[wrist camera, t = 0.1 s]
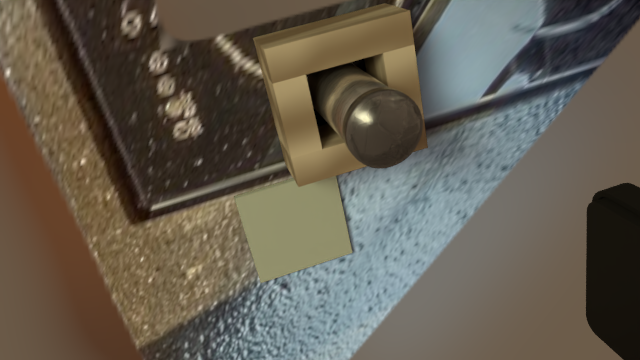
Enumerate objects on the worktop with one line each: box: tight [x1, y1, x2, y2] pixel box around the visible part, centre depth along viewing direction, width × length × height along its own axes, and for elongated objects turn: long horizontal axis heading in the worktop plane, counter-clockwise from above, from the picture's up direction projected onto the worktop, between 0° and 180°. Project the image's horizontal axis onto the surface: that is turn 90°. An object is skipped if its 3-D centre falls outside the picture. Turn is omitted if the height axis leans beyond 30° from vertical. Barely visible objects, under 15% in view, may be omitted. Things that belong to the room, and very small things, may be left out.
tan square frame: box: [253, 3, 428, 187], centre depth 45 cm, size 11×11×5 cm
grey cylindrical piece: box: [307, 62, 423, 168], centre depth 41 cm, size 5×5×12 cm
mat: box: [234, 176, 352, 283], centre depth 51 cm, size 9×9×1 cm
